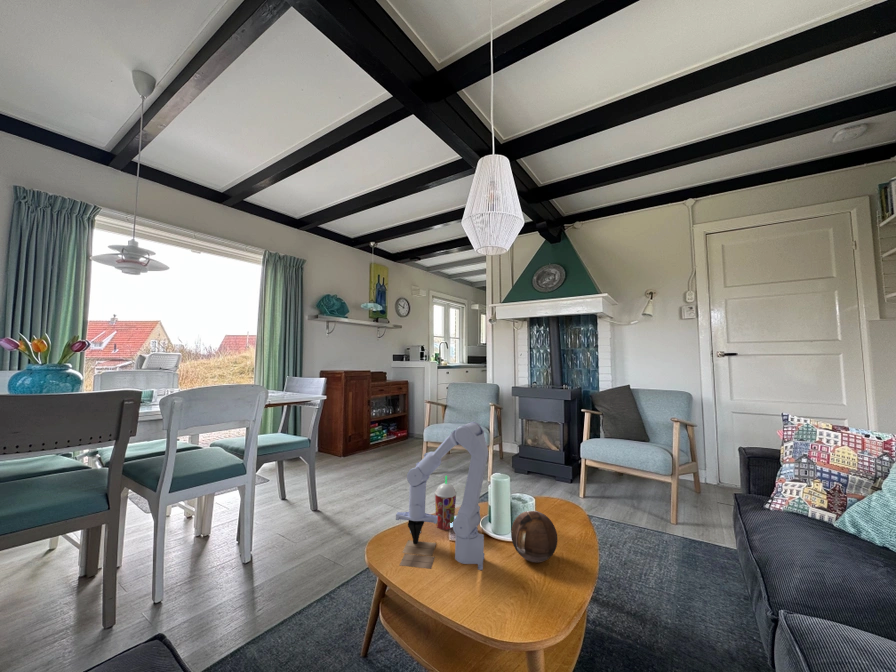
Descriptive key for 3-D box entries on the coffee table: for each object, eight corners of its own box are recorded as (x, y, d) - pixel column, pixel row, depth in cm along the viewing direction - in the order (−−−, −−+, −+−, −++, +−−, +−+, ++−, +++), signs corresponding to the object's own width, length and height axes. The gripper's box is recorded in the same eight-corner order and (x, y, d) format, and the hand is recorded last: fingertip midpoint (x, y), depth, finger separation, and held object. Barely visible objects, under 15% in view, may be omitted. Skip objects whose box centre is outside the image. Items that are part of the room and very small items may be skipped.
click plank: (436, 546, 123) (436, 542, 123) (432, 559, 115) (432, 555, 115) (408, 543, 124) (408, 540, 124) (402, 556, 116) (402, 552, 116)
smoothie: (455, 534, 132) (457, 480, 134) (433, 534, 132) (434, 479, 134) (455, 524, 141) (456, 473, 142) (434, 523, 141) (436, 472, 142)
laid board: (434, 561, 114) (434, 556, 114) (431, 573, 108) (431, 568, 108) (404, 558, 116) (404, 553, 116) (399, 570, 109) (399, 565, 109)
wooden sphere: (539, 544, 127) (540, 501, 128) (567, 567, 113) (567, 519, 114) (502, 551, 122) (503, 506, 123) (526, 576, 108) (527, 525, 109)
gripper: (439, 499, 127) (438, 538, 126) (400, 496, 129) (398, 534, 128) (436, 507, 120) (434, 549, 119) (394, 503, 122) (393, 544, 121)
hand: (415, 542), depth 123 cm, fingers closed
